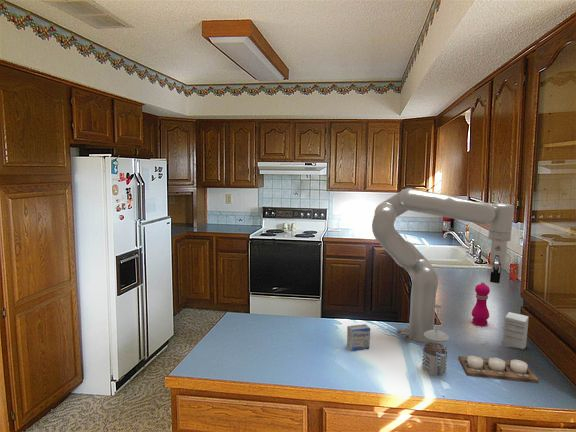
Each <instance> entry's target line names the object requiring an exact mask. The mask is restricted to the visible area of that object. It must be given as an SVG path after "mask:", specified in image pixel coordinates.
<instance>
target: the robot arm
mask: <svg viewBox="0 0 576 432" xmlns="http://www.w3.org/2000/svg"><path fill="white" fill-rule="evenodd" d="M514 208H515V207H514V206H513V204H510V203H505V202H504V203H502V202H496V203H493V202H484V201H472V200H471V201H470V200H465V199H461V198H457V197H454V196H451V195H449V194H445V193H437V192H431V191H425V190H421V189H420V190H419V189H415V188H412V187H407V188H404V189H402V190H400V191H399V192H398V193H396V194H394V195H393V196H391V197H389V198H387V199H386V200H384V201H383V202H381V203H379V204H378V205H377V206H376V207H375V210H374V216H373V218H372V219H373V220H372V222H371V223H372V224H371V229H372V231H371V232H372V233H373V236H374V238H375V240H376V241H377V242H378V243H379V245H380V246H381V247H382V248H383V249H384V251H386V253H387V254H388V255H389V256H390V257H391V258H392V259H393V260H394V262H395V263H396V264H397V265H398V266H399V267H401V268H403V269H404V270H405V271H406V272H407V273H408V274H409V275H410V277H411V291H410V304H409V305H410V306H409V307H410V308H409V321H408V322H409V325H407V327H405V328H401V327H397V328H396V333H398V334H400V336H404V340H405V341H406V342H407V343H409V344H410V343H411V342H410V340H412V341H415V342H420V343H429V342H432V341H431V340H429V339H427V338H426V337H425V336H424V332H426V331H429V330H435V314H436V307H435V305H436V302H437V301H436V297H437V291H438V285H439V278H438V273H437V271H436V269H435V268H434V266H433V265H432V263H431V262H430V261H429V260H428V258H426V257H425V256H424V254H422V253H421V252H420V250H419V249H418V248H417V247H416V246H415V245H414V244H413V243H412V242H411V241H410V242H409V241H407V240H405V238H404V237H403V236H402V234H400V232H398V231H397V230H396V228H395V221H396V219H397V218H398V217H400V216H401V215H403V214H405V213H407V212H408V211H411V212H415V213H422V214H426V215H433V216H438V217H442V218H448V219H454V220H458V221H459V220H460V221H463V222H469V223H474V224H481V225H486V224H489V227H488V229H489V230H488V237H487V239H488V240H489V241H491V242H490V258H489V259H490V261H489V263H490V266H491V271H490V278H489V279H490V280H489V282H490V283H494V284H500V282H501V281H500V280H501V270H502V268H506V259H507V250H508V249H507V248H508V242H511V240H512V239H511V238H512V230H513V229H512V227H513V220H514V219H513V218H514Z"/></svg>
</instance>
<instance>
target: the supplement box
mask: <svg viewBox="0 0 576 432" xmlns="http://www.w3.org/2000/svg"><path fill="white" fill-rule="evenodd" d="M528 327H529V316H528V315H524V314H519V313H515V312H510V311H508V312H507V314H506V316H505V317H504V326H503V335H502V337H503V338H502V347H504V348H505V347H506V348H517V349H520V350H521V349H522V350H524V349H526V346H527V339H528V338H527V337H528Z"/></svg>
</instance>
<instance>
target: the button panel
mask: <svg viewBox="0 0 576 432" xmlns="http://www.w3.org/2000/svg"><path fill="white" fill-rule="evenodd" d="M467 357H468V356H465V355H458V360H459V363H460V365H461V366H462V368H463V371H464V373H465V375H466V376H468V377H470V376H471V377H478V378H488V379H499V380H510V381H515V382H516V381H519V382H527V383H528V382H529V383H538V384H539V378H538V377H537V376H536V374H535V373H534V372H533V370H531V368H530V366H527V374H522V373H513V372H512V371H511V370H510V363H511V360H507V359H506V360H505V359H502V360H503V361H505V370H504V372H502V371H492V370H490V369H489V367H488V364H489V358H488V357H487V358H486V357H481V358H482V359H483V369H472V368H468V367H467Z"/></svg>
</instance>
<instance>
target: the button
mask: <svg viewBox="0 0 576 432" xmlns="http://www.w3.org/2000/svg"><path fill="white" fill-rule="evenodd" d="M488 359H489V364H488V365H487V366H488V367H489V369H490V370H492V371H502V372H505V361H503V360H504V359H501V358H499V357H489V358H488Z"/></svg>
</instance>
